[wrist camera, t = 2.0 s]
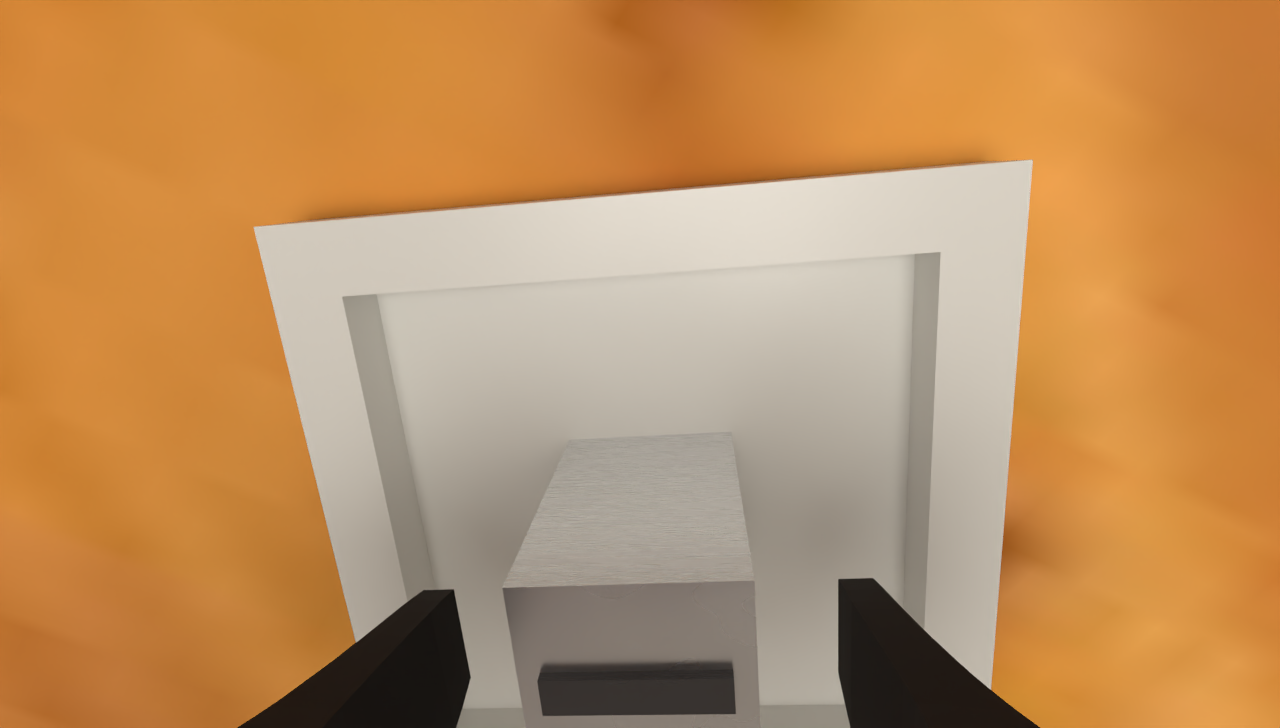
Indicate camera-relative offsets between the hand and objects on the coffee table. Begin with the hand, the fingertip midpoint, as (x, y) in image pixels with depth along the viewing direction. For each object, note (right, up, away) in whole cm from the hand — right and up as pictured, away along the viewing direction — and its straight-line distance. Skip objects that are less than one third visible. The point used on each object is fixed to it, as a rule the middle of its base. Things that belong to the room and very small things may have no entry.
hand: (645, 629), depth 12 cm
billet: (0, +1, +4) cm, 5 cm away
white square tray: (0, +1, +5) cm, 5 cm away
